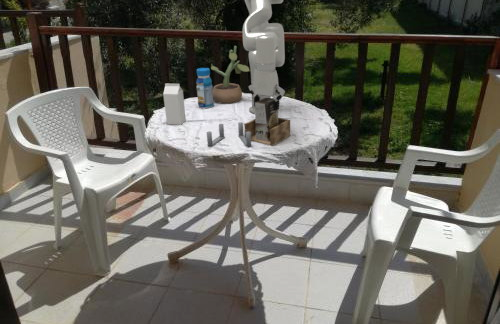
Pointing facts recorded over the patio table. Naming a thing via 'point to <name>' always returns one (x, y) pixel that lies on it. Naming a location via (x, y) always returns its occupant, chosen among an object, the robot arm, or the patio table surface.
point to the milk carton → (174, 104)
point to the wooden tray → (275, 133)
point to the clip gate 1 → (221, 133)
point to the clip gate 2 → (248, 136)
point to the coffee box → (265, 118)
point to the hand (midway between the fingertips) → (266, 107)
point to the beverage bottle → (204, 88)
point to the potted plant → (228, 90)
